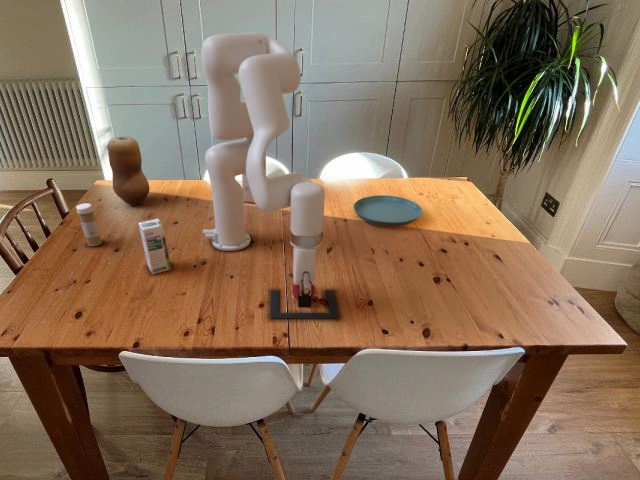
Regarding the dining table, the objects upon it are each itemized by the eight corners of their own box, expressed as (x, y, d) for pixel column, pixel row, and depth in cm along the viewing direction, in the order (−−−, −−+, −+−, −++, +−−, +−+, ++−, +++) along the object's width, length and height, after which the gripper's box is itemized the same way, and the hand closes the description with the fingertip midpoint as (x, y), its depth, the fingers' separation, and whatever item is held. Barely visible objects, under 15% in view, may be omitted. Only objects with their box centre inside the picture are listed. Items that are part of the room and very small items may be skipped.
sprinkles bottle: (101, 239, 137) (91, 201, 129) (102, 245, 133) (91, 207, 125) (87, 242, 135) (75, 203, 128) (87, 248, 132) (75, 209, 124)
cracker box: (257, 203, 160) (255, 149, 148) (242, 202, 161) (239, 148, 149) (267, 191, 171) (266, 139, 159) (253, 189, 172) (251, 138, 160)
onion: (313, 309, 104) (314, 283, 100) (290, 307, 105) (291, 281, 100) (315, 296, 109) (316, 271, 104) (293, 294, 110) (294, 269, 105)
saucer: (389, 198, 163) (391, 190, 161) (435, 221, 145) (437, 213, 143) (339, 210, 154) (340, 202, 152) (381, 236, 136) (383, 227, 134)
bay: (270, 318, 101) (270, 318, 101) (271, 291, 111) (271, 290, 111) (339, 319, 101) (339, 318, 101) (333, 291, 111) (333, 290, 111)
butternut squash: (158, 202, 162) (146, 137, 148) (128, 212, 154) (113, 145, 140) (138, 193, 170) (125, 131, 156) (109, 203, 162) (93, 138, 148)
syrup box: (152, 275, 118) (142, 229, 110) (147, 265, 123) (137, 221, 114) (171, 270, 120) (163, 225, 112) (166, 261, 125) (158, 217, 116)
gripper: (289, 220, 103) (288, 277, 113) (290, 254, 89) (289, 316, 98) (319, 220, 103) (315, 277, 113) (325, 254, 89) (320, 316, 98)
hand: (303, 295), depth 106 cm, fingers open, 9 cm apart
